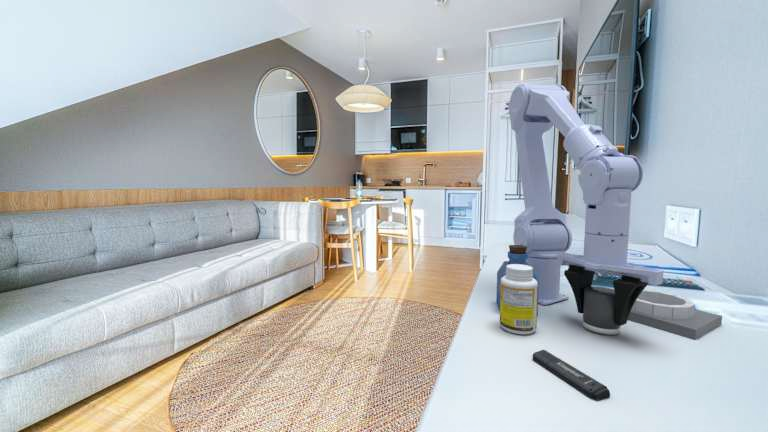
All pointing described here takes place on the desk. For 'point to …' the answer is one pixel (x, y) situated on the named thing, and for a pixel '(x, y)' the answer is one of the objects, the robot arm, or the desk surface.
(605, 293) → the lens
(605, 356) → the desk surface
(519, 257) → the perfume bottle
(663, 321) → the ring holder base
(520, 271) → the supplement bottle
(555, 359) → the usb stick
